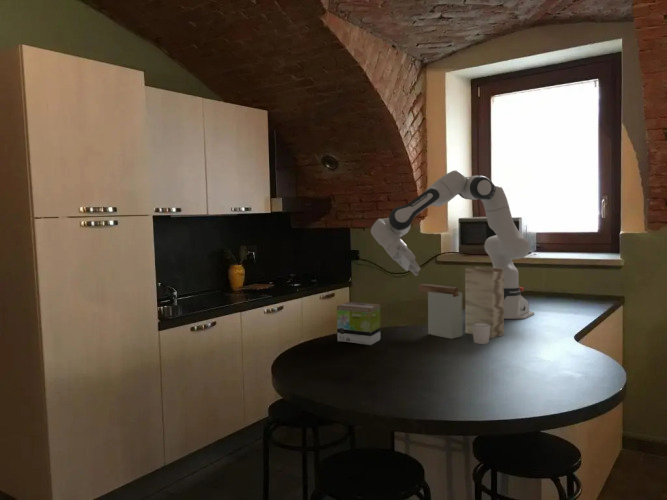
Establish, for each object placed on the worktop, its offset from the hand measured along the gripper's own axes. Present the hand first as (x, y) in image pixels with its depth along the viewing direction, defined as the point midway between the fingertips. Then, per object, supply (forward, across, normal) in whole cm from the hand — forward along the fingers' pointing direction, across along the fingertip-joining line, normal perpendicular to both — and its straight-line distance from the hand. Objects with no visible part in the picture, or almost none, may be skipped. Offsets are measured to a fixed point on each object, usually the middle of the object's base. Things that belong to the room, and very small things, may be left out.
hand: (418, 272), depth 239 cm
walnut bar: (+14, -13, +3) cm, 19 cm away
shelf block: (+38, -8, -1) cm, 39 cm away
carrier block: (+28, -10, +12) cm, 32 cm away
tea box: (+8, -19, +41) cm, 45 cm away
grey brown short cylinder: (+39, -22, +5) cm, 45 cm away
